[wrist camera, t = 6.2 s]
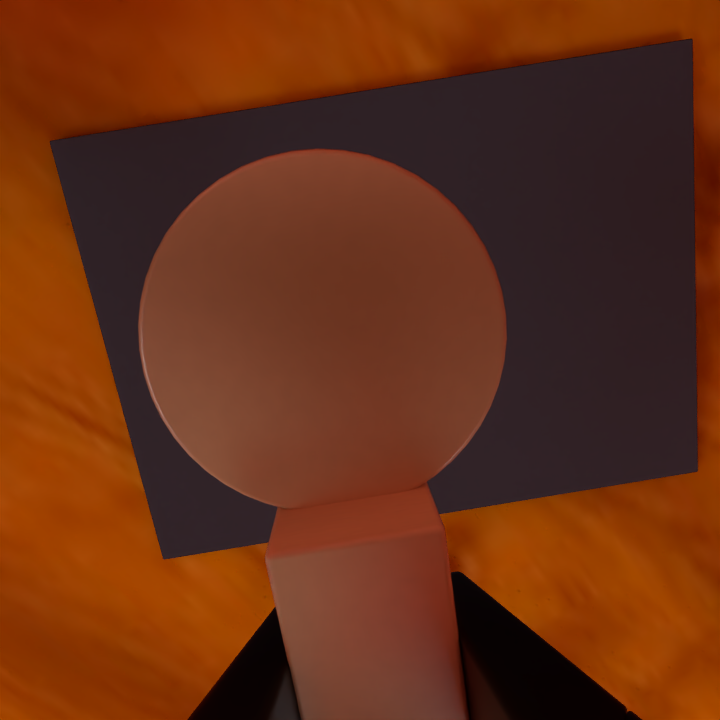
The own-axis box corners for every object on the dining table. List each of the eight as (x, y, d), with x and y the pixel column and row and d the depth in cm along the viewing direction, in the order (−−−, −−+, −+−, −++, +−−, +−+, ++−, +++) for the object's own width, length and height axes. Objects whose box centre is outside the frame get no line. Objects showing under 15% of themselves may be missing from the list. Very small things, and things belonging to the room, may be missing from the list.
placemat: (166, 554, 20) (162, 560, 20) (55, 143, 17) (48, 140, 16) (691, 467, 20) (698, 471, 20) (685, 43, 17) (693, 37, 17)
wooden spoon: (530, 841, 11) (596, 1046, 8) (309, 877, 11) (298, 1096, 8) (455, 149, 8) (520, 89, 5) (148, 198, 8) (38, 165, 5)
